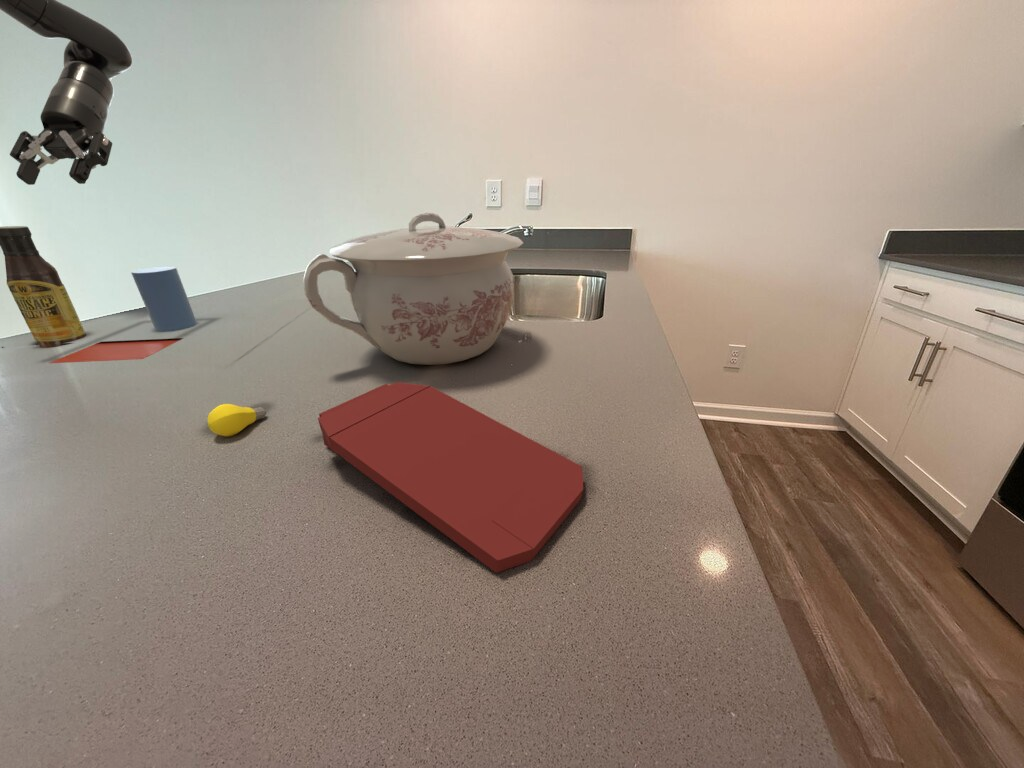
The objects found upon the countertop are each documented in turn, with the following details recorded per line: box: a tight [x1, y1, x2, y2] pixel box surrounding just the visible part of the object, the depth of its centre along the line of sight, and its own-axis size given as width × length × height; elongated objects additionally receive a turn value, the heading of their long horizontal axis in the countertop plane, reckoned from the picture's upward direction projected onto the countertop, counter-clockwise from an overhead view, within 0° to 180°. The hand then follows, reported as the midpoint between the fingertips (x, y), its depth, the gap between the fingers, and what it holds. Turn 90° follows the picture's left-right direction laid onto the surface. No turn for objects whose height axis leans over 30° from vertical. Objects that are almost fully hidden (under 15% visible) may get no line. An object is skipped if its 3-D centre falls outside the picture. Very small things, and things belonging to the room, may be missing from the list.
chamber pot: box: [302, 212, 524, 366], centre depth 62 cm, size 28×28×21 cm
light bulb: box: [206, 403, 267, 437], centre depth 45 cm, size 3×6×4 cm, turn 156°
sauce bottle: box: [0, 225, 86, 348], centre depth 68 cm, size 6×6×20 cm
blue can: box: [130, 266, 198, 333], centre depth 75 cm, size 6×6×11 cm
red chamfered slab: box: [317, 381, 584, 574], centre depth 38 cm, size 12×5×25 cm
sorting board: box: [49, 337, 184, 364], centre depth 72 cm, size 14×20×1 cm
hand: (51, 180), depth 71 cm, fingers open, 8 cm apart
